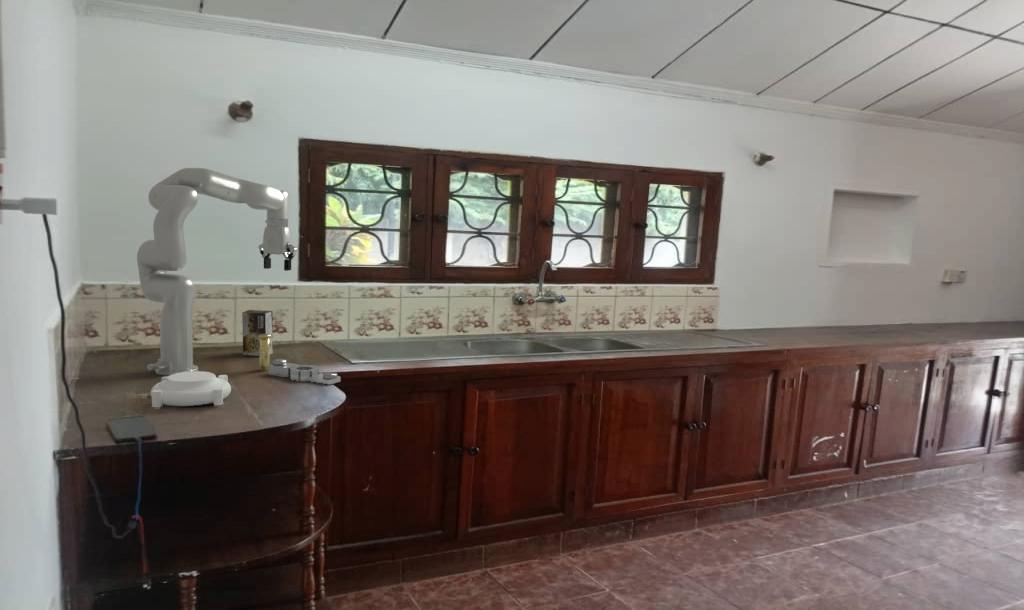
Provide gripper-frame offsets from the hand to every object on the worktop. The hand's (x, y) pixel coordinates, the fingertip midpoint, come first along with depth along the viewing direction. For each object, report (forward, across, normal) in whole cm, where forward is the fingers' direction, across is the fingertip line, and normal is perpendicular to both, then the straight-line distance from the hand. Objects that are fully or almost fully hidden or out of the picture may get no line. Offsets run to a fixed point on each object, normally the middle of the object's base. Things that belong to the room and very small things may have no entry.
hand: (277, 269), depth 266 cm
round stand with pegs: (+32, +28, -66) cm, 78 cm away
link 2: (+31, +41, -29) cm, 59 cm away
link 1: (+31, +33, -29) cm, 53 cm away
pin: (+31, +19, -27) cm, 45 cm away
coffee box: (+31, -1, -10) cm, 33 cm away
